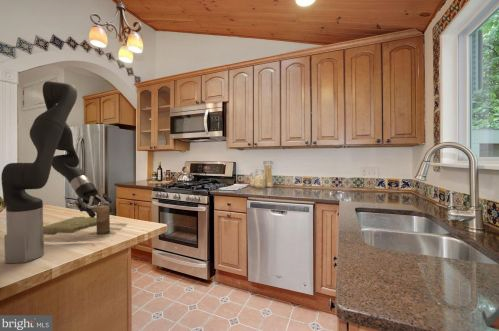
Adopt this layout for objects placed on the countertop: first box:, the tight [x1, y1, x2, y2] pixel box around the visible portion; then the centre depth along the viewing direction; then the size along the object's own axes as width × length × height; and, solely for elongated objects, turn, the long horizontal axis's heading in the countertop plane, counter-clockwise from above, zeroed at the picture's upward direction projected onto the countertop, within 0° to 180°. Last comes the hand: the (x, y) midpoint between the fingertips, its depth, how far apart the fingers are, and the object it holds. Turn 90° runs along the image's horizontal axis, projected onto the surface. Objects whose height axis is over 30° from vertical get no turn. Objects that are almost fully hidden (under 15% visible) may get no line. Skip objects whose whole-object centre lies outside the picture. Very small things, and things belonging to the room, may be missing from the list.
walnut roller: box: [95, 205, 111, 235], centre depth 104 cm, size 5×5×12 cm
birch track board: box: [86, 222, 130, 237], centre depth 110 cm, size 19×11×1 cm, turn 8°
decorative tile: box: [43, 216, 97, 235], centre depth 115 cm, size 19×20×4 cm
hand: (103, 214), depth 104 cm, fingers open, 8 cm apart
